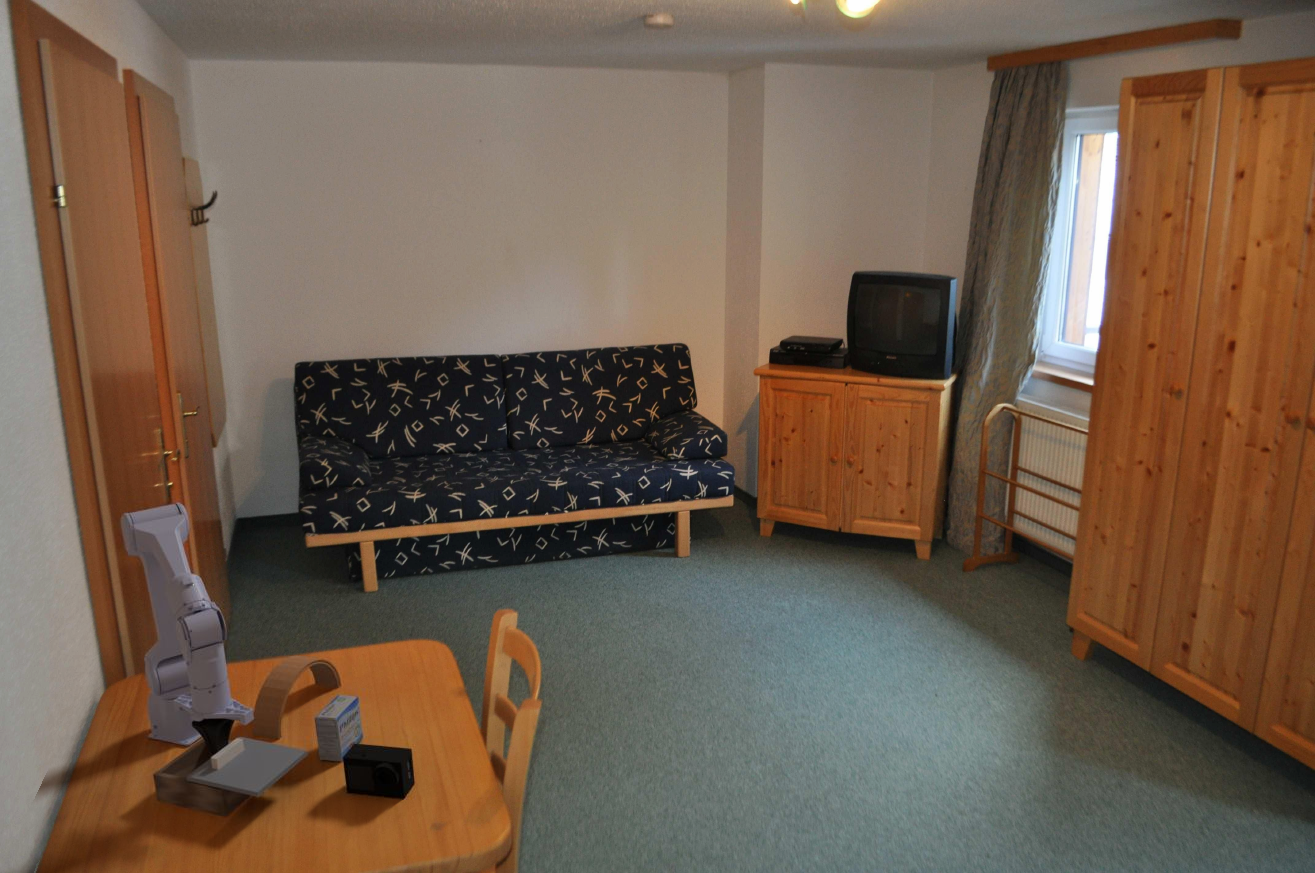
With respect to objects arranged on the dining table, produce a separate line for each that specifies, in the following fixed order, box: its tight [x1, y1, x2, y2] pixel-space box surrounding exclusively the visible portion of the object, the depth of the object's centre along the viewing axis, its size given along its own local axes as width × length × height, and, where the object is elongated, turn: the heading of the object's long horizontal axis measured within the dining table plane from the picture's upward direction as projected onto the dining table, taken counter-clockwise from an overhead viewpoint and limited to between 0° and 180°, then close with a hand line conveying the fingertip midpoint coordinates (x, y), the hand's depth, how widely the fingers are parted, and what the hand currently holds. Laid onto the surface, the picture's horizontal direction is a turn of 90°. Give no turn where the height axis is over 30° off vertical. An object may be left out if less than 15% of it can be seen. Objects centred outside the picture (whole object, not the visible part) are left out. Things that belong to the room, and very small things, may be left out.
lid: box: [187, 736, 309, 798], centre depth 160 cm, size 14×12×3 cm
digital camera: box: [342, 743, 416, 800], centre depth 161 cm, size 10×5×7 cm, turn 80°
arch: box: [252, 655, 342, 740], centre depth 186 cm, size 6×20×10 cm, turn 164°
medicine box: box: [314, 694, 364, 763], centre depth 173 cm, size 8×4×9 cm, turn 168°
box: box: [152, 738, 252, 818], centre depth 163 cm, size 14×12×5 cm
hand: (220, 753), depth 162 cm, fingers closed
